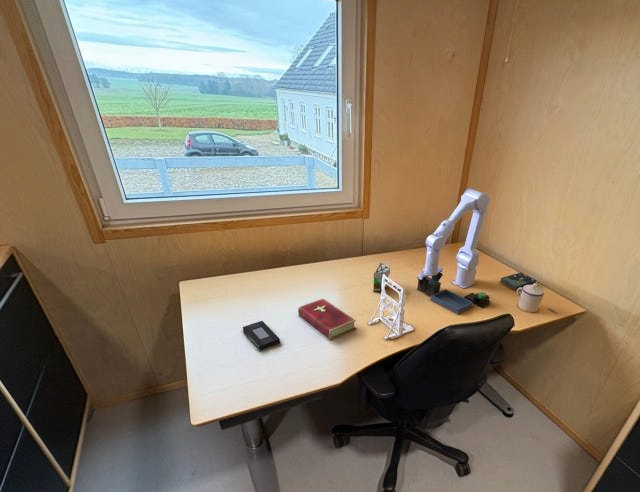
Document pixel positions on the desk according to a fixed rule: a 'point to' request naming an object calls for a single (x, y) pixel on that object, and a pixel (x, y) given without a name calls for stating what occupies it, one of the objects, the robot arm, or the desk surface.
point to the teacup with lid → (530, 297)
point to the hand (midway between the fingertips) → (428, 289)
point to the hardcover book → (327, 318)
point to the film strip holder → (392, 310)
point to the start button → (482, 295)
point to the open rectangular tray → (451, 301)
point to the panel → (478, 300)
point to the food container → (380, 276)
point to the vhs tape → (261, 335)
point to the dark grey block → (431, 287)
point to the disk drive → (517, 281)
